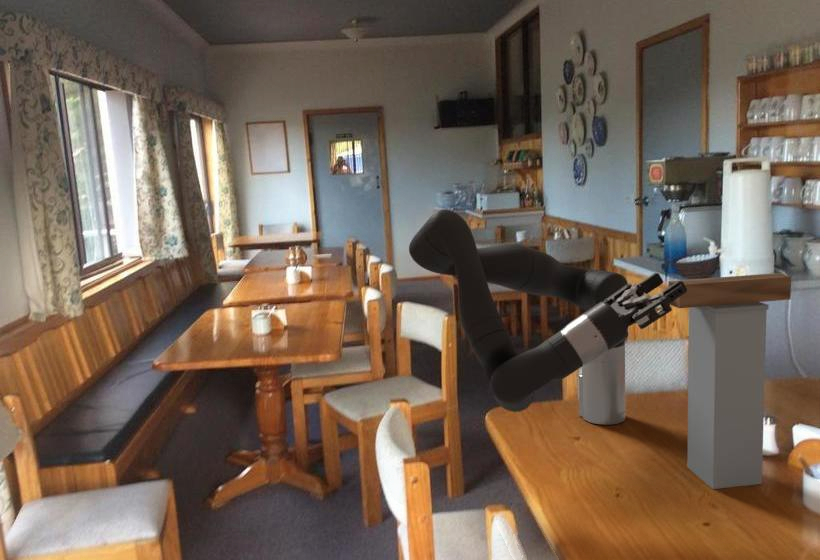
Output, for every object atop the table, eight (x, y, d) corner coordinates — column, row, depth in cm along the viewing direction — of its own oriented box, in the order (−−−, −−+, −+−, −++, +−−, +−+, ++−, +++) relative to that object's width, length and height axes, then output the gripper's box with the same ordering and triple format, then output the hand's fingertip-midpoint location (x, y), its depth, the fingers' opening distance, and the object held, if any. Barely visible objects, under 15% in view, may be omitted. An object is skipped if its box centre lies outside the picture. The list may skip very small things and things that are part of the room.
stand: (685, 467, 133) (687, 298, 128) (733, 462, 134) (737, 294, 129) (712, 489, 124) (715, 309, 119) (763, 484, 125) (768, 304, 120)
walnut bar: (668, 303, 125) (668, 281, 124) (776, 295, 127) (776, 273, 126) (679, 308, 121) (679, 284, 120) (790, 299, 123) (791, 276, 122)
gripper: (597, 325, 114) (682, 268, 114) (567, 307, 128) (642, 257, 128) (620, 362, 116) (703, 306, 116) (588, 341, 130) (662, 291, 130)
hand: (671, 281), depth 122 cm, fingers open, 8 cm apart
